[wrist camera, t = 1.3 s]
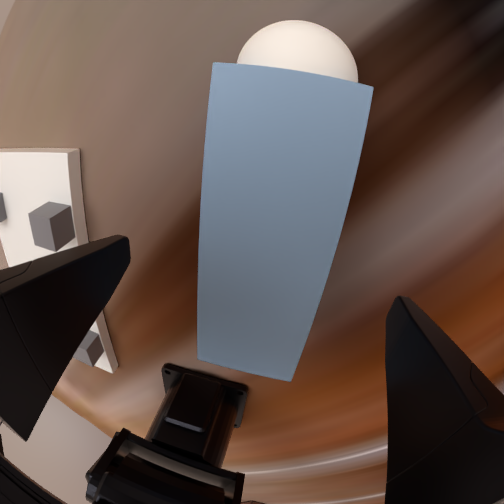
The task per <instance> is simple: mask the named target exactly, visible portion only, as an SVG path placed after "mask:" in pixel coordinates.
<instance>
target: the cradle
mask: <svg viewBox="0 0 504 504" xmlns="http://www.w3.org/2000/svg"><path fill="white" fill-rule="evenodd" d="M0 238H1V242H2V245H3V249H4V252H5V256H6V259H7V262H8V265H9V267H12V266H16V265H19V264H22V263H25V262H28V261H31V260H32V261H33V260H34V259H37V258H40V257H44V256H47V255H50V254H53V253H56V252H59V251H63V250H66V249H69V248H73V247H76V246H79V245H83V244H86V243H89V241H88V235H87V228H86V221H85V213H84V204H83V194H82V183H81V169H80V149H76V148H2V149H0ZM73 358H75V359H77V360H79V361H81V362H83V363H85V364H87V365H89V366H91V367H94V365H95V366H97V367H99V368H101V369H103V370H106V371H108V372H110V373H112V374H113V373H114V372H115V370H116V369H117V367H118V363H117V360H116V356H115V353H114V350H113V347H112V343H111V340H110V336H109V333H108V329H107V326H106V322H105V318H104V314H103V310H102V311H101V313H100V314H99V316H98V317H97V319H96V321H95V322H94V324H93V325H92V327H91V328H90V330H89V331H88V333H87V335H86V336H85V338H84V339H83V341H82V342H81V344H80V346H79V347H78V349H77V351H76V352H75V354H74V355H73Z"/></svg>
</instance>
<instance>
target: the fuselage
mask: <svg viewBox="0 0 504 504" xmlns="http://www.w3.org/2000/svg"><path fill="white" fill-rule="evenodd" d="M373 88H374V87H371V86H368V85H364V84H360V83H358V72H357V67H356V63H355V61H354V58H353V56H352V54H351V52H350V50H349V49H348V47H347V46H346V45H345V43H344V42H343V41H342V40H341V39H340V38H339V37H338V36H336V35H335V34H334V33H333V32H331V31H330V30H328V29H326V28H324V27H322V26H320V25H318V24H315V23H312V22H307V21H300V20H287V21H281V22H277V23H274V24H271V25H269V26H266V27H264V28H263V29H261V30H259V31H258V32H257V33H255V34H254V35H253V36H252V37H251V38H250V39H249V40H248V41H247V42H246V44H245V45H244V47H243V48H242V50H241V52H240V54H239V57H238V60H237V64H235V63H217V62H213V68H212V76H211V85H210V94H209V104H208V114H207V125H206V136H205V148H204V161H203V175H202V190H201V208H200V228H199V254H198V297H197V359H198V360H201V361H205V362H208V363H212V364H215V365H219V366H223V367H227V368H231V369H235V370H239V371H243V372H247V373H251V374H256V375H260V376H265V377H269V378H274V379H279V380H284V381H289V382H291V380H292V377H293V375H294V372H295V370H296V367H297V364H298V362H299V359H300V357H301V354H302V351H303V348H304V346H305V343H306V340H307V337H308V335H309V332H310V329H311V326H312V323H313V320H314V317H315V315H316V312H317V309H318V306H319V303H320V300H321V297H322V294H323V290H324V287H325V284H326V281H327V278H328V275H329V271H330V268H331V265H332V262H333V258H334V255H335V251H336V248H337V245H338V241H339V238H340V234H341V230H342V227H343V223H344V220H345V216H346V212H347V208H348V204H349V201H350V197H351V193H352V189H353V185H354V180H355V176H356V172H357V168H358V163H359V159H360V155H361V150H362V145H363V141H364V136H365V131H366V126H367V121H368V116H369V111H370V105H371V100H372V94H373Z"/></svg>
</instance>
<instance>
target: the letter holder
mask: <svg viewBox="0 0 504 504" xmlns="http://www.w3.org/2000/svg"><path fill="white" fill-rule="evenodd" d="M241 504H264V503H260V502H256V501H247V502H241Z"/></svg>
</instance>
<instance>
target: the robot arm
mask: <svg viewBox="0 0 504 504" xmlns="http://www.w3.org/2000/svg"><path fill="white" fill-rule="evenodd" d="M130 259H131V256H130V246H129V239H128V238H127V237H126V236H122V235H114V236H110V237H107V238H103V239H100V240H96V241H93V242H89V243H86V244H83V245H79V246H76V247H73V248H69V249H66V250H63V251H59V252H56V253H53V254H50V255H47V256H44V257H40V258H37V259H34V260H33V261H32V260H31V261H28V262H25V263H22V264H19V265H16V266H12V267H9V268H6V269H2V270H0V426H1V424H2V423H3V424H5V425H6V426H7V427H8V428H9V429H10V430H12V431H13V432H14V433H16V434H17V435H18V436H19V437H20V438H22V439H23V440H24V441H25V442H26V441H27V440H28V438H29V436H30V434H31V432H32V430H33V428H34V426H35V424H36V422H37V420H38V418H39V416H40V414H41V412H42V411H43V408H44V407H45V405H46V403H47V401H48V399H49V397H50V395H51V394H52V391H53V390H54V388H55V386H56V385H57V383H58V381H59V379H60V378H61V376H62V374H63V372H64V371H65V369H66V367H67V366H68V364H69V362H70V360H71V359H72V357H73V355H74V354H75V352H76V351H77V349H78V347H79V346H80V344H81V342H82V341H83V339H84V338H85V336H86V335H87V333H88V331H89V330H90V328H91V327H92V325H93V324H94V322H95V321H96V319H97V317H98V316H99V314H100V313H101V311H102V310H103V308H104V307H105V305H106V304H107V303H108V301H109V299H110V298H111V296H112V294H113V293H114V291H115V289H116V287H117V285H118V284H119V282H120V280H121V278H122V276H123V275H124V273H125V271H126V269H127V267H128V266H129V264H130ZM385 367H386V383H387V405H388V461H387V483H386V494H385V504H504V395H503V394H502V393H501V392H500V391H499V390H498V389H497V388H496V386H495V385H494V384H493V383H492V382H491V381H490V380H489V379H488V378H487V377H486V376H485V375H484V374H483V373H482V372H481V371H480V370H479V369H478V367H477V366H476V365H475V364H474V363H472V361H471V360H470V359H469V358H468V357H467V355H466V354H465V353H464V352H463V351H462V350H461V349H460V348H459V347H458V346H457V345H456V344H455V343H454V342H453V341H452V340H451V339H450V338H449V337H448V336H447V335H446V333H445V332H444V331H443V330H442V329H441V328H440V327H439V326H438V325H437V324H436V323H435V322H434V321H433V320H432V319H431V318H430V317H429V316H428V315H427V314H426V313H425V312H424V311H423V310H422V309H421V308H419V307H418V306H417V305H416V304H415V303H414V302H413V301H412V300H411V299H410V298H409V297H405V296H397V297H396V298H395V300H394V302H393V304H392V306H391V308H390V310H389V312H388V315H387V318H386V347H385ZM162 376H163V382H164V387H165V393H166V396H165V398H164V400H163V402H162V404H161V406H160V408H159V410H158V412H157V414H156V416H155V418H154V420H153V423H152V425H151V427H150V429H149V431H148V433H147V435H146V437H145V439H143V438H141V437H139V436H137V435H135V434H133V433H131V431H129V430H127V429H125V428H123V429H122V430H121V432H116V433H115V435H114V437H113V439H112V441H111V443H110V444H109V446H108V448H107V449H106V451H105V452H104V453H103V454H102V455H101V457H100V458H99V459H98V460H97V461H96V462H95V463H94V465H93V466H92V467H91V468H90V469H89V470H88V471H87V473H86V476H85V477H86V480H87V482H88V486H87V491H86V500H87V501H89V502H91V503H92V504H241V497H242V491H243V484H244V478H245V474H243V473H239V472H236V473H235V472H231V471H228V470H225V469H221V467H222V464H223V461H224V457H225V454H226V451H227V447H228V444H229V441H230V438H231V434H232V431H233V427H234V428H239V427H240V425H241V421H242V417H243V412H244V408H245V404H246V399H247V395H248V388H247V387H245V386H243V385H239V384H235V383H231V382H227V381H223V380H219V379H216V378H212V377H208V376H205V375H201V374H198V373H195V372H191V371H188V370H185V369H181V368H178V367H175V366H172V365H169V364H165V365H164V366H163V367H162ZM0 504H67V503H65V502H64V501H62V500H61V499H59V498H58V497H56V496H55V495H53V494H52V493H50V492H49V491H47V490H46V489H44V488H43V487H42V486H40V485H39V484H37V483H36V482H35V481H34V480H32V479H31V478H30V477H28V476H27V475H26V474H25V473H23V472H22V471H21V470H20V469H18V468H17V467H16V466H15V465H14V464H12V463H11V462H10V461H9V460H8V459H7V458H5V457H4V452H3V446H2V439H1V434H0Z"/></svg>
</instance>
